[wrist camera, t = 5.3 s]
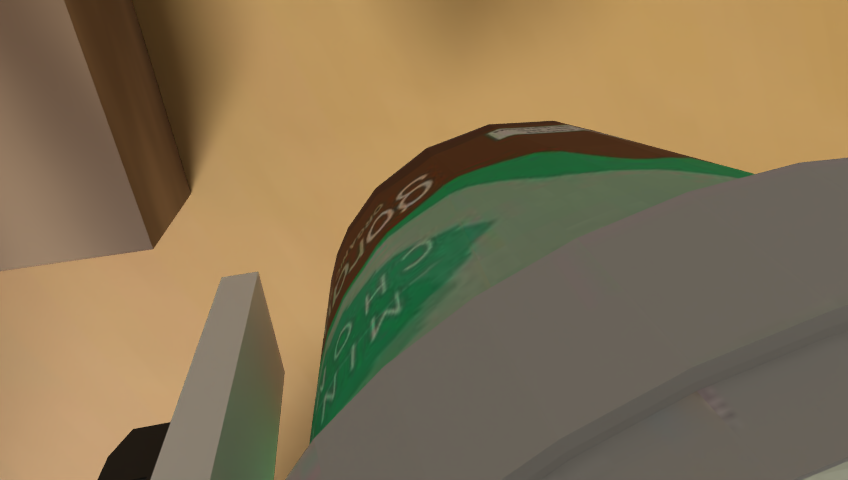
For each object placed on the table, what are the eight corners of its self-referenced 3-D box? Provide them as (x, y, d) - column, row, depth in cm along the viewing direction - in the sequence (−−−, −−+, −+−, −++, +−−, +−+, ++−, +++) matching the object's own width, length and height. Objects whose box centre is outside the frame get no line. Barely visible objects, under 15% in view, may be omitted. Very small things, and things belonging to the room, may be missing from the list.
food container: (366, -37, 10) (623, -231, 1) (627, 69, 12) (1496, 290, 3) (232, 438, 15) (81, 1148, 6) (439, 466, 16) (575, 1044, 7)
